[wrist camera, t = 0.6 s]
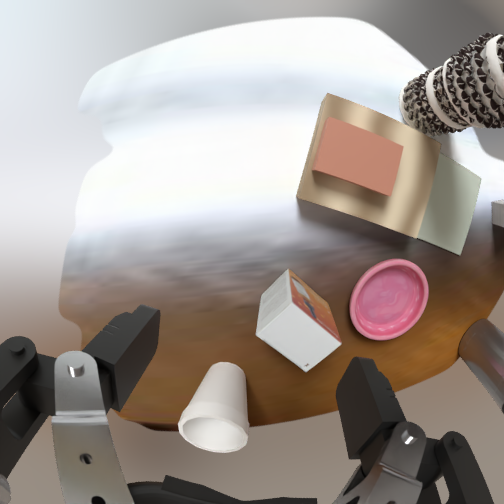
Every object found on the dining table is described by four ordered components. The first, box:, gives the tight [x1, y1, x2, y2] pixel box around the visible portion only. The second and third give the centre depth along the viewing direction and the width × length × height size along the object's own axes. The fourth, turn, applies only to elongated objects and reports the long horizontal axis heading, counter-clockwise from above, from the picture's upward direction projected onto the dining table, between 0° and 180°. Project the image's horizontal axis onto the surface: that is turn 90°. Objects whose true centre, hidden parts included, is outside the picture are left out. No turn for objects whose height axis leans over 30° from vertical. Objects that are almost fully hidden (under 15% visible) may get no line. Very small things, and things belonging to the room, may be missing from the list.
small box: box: [256, 269, 342, 372], centre depth 33 cm, size 8×6×10 cm
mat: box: [417, 153, 481, 255], centre depth 32 cm, size 12×13×1 cm
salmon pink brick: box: [312, 117, 404, 197], centre depth 27 cm, size 9×6×2 cm, turn 75°
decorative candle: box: [399, 33, 504, 137], centre depth 17 cm, size 9×9×25 cm
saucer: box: [349, 259, 428, 340], centre depth 35 cm, size 12×12×3 cm
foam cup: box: [178, 362, 249, 453], centre depth 36 cm, size 10×9×13 cm
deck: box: [296, 93, 441, 239], centre depth 30 cm, size 16×13×4 cm
